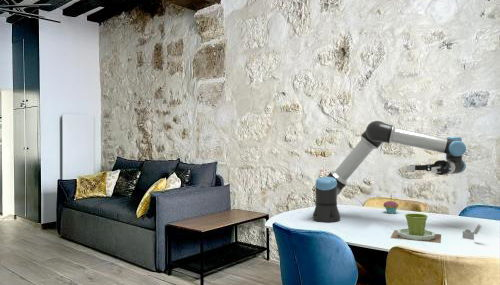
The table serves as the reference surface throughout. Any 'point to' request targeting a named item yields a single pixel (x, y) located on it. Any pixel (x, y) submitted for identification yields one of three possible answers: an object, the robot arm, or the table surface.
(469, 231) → the lighter
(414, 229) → the plant pot
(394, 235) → the walnut board
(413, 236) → the saucer
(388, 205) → the cupcake
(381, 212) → the table surface
